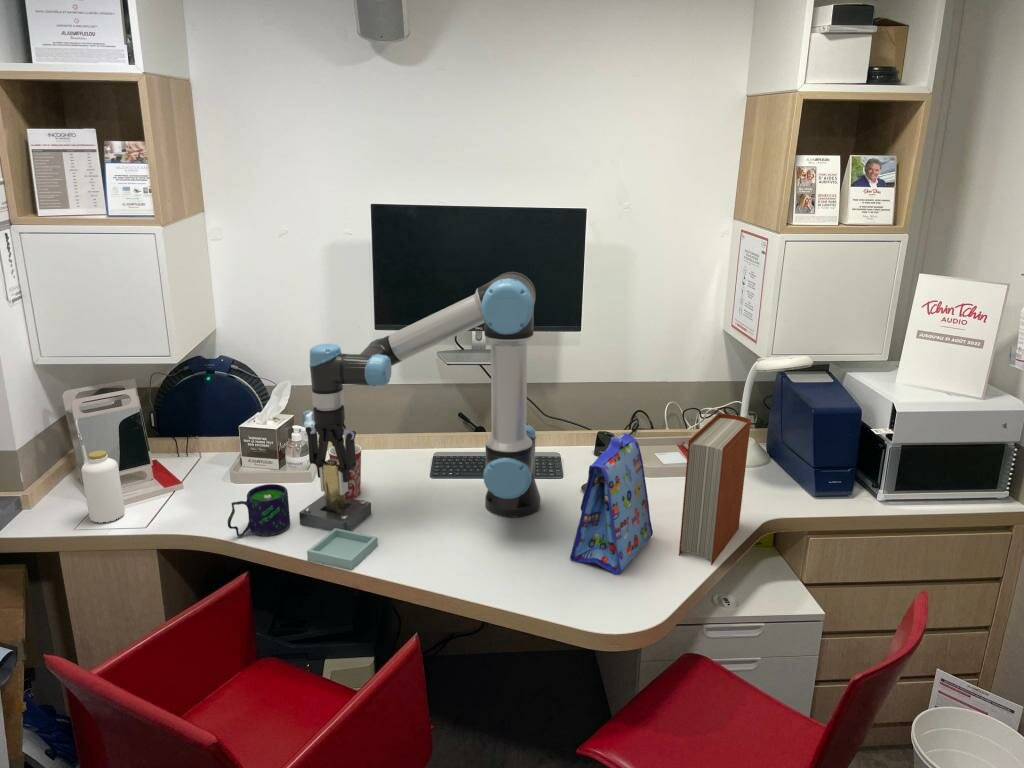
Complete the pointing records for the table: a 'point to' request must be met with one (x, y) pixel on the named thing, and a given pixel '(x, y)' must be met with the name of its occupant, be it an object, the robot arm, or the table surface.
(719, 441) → the book
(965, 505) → the table surface
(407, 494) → the table surface
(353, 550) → the tray
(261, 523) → the mug
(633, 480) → the lunch bag
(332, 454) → the mug
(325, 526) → the housing
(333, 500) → the brass cylinder
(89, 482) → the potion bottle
